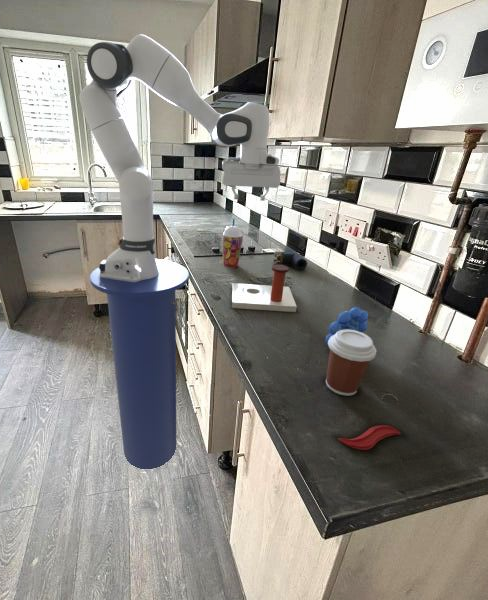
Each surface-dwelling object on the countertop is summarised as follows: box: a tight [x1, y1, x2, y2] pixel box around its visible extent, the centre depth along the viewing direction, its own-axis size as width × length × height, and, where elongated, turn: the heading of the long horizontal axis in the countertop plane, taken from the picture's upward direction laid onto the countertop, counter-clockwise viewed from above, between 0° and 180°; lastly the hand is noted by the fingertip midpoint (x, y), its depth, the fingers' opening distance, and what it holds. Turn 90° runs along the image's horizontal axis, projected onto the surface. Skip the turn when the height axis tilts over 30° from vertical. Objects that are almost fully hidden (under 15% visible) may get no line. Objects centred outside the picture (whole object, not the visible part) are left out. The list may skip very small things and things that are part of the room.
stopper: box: [270, 264, 290, 302], centre depth 101 cm, size 5×5×11 cm
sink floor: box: [231, 283, 298, 313], centre depth 108 cm, size 20×16×2 cm
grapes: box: [325, 306, 369, 345], centre depth 80 cm, size 12×7×12 cm, turn 109°
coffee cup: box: [325, 329, 378, 397], centre depth 67 cm, size 9×9×12 cm
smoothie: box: [222, 218, 244, 269], centre depth 134 cm, size 8×8×20 cm
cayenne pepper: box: [337, 424, 402, 451], centre depth 56 cm, size 12×5×2 cm, turn 93°
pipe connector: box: [272, 248, 308, 271], centre depth 141 cm, size 12×5×15 cm
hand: (249, 199), depth 116 cm, fingers open, 8 cm apart
